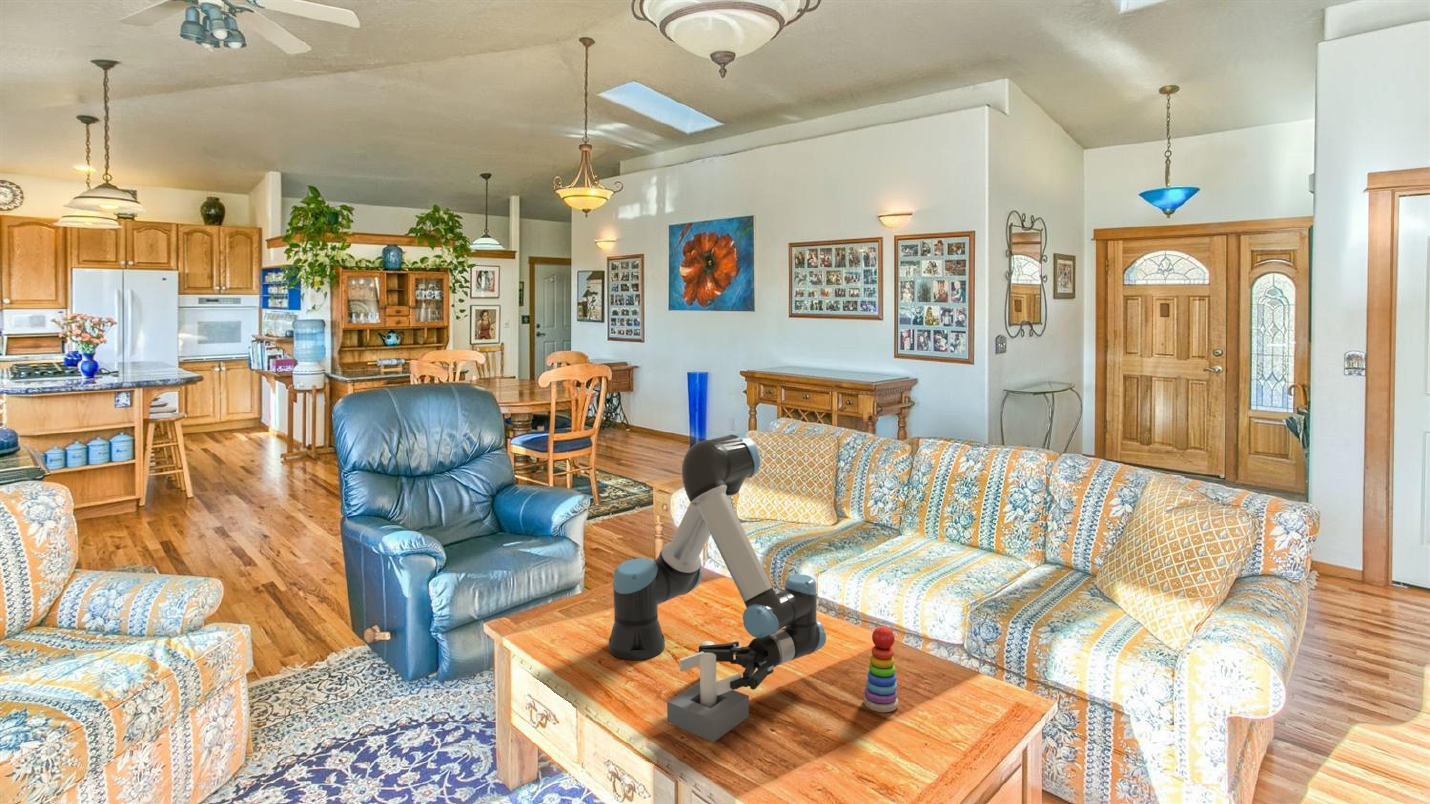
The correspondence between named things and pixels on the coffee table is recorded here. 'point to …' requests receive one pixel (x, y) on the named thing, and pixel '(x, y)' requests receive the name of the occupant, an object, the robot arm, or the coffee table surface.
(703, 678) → the tall pin
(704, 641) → the short pin
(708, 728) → the hole block
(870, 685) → the stacking toy
